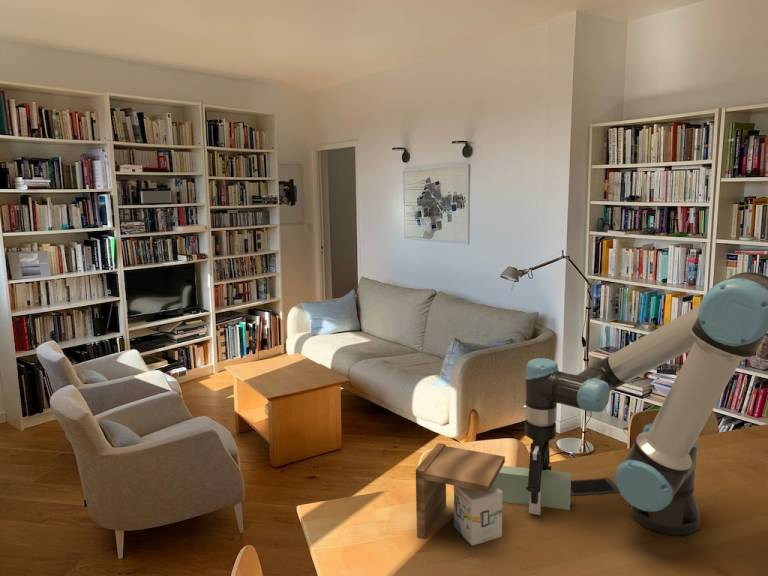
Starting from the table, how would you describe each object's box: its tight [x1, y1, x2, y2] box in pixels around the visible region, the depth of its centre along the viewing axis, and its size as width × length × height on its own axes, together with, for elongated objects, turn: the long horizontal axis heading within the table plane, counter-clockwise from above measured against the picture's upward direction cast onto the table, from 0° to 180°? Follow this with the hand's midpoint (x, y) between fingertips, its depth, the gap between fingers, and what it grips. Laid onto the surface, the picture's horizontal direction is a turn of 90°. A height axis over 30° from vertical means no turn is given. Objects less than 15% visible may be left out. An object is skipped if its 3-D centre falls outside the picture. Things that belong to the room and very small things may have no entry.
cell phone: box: [570, 477, 619, 497], centre depth 156 cm, size 7×14×1 cm, turn 95°
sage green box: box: [493, 465, 572, 511], centre depth 147 cm, size 27×14×8 cm, turn 74°
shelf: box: [415, 442, 506, 540], centre depth 138 cm, size 17×15×17 cm
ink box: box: [453, 484, 503, 546], centre depth 137 cm, size 8×8×12 cm
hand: (538, 503), depth 149 cm, fingers open, 9 cm apart
